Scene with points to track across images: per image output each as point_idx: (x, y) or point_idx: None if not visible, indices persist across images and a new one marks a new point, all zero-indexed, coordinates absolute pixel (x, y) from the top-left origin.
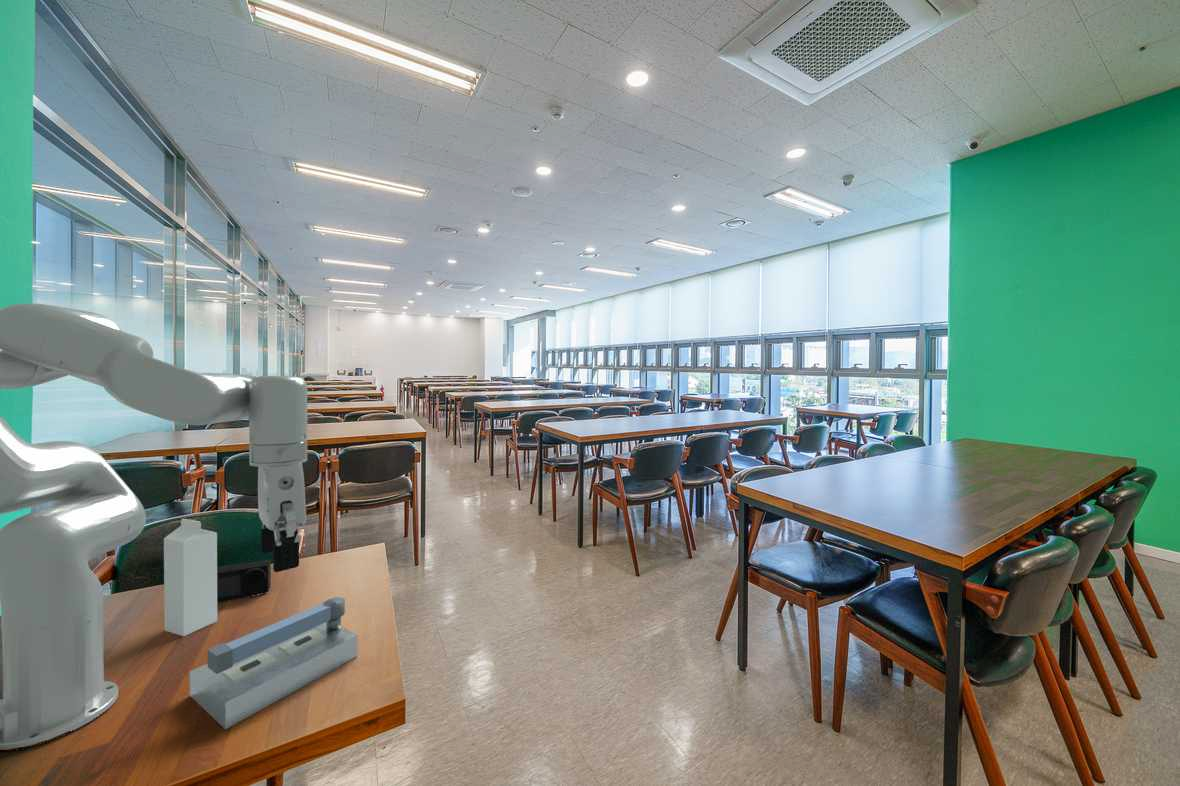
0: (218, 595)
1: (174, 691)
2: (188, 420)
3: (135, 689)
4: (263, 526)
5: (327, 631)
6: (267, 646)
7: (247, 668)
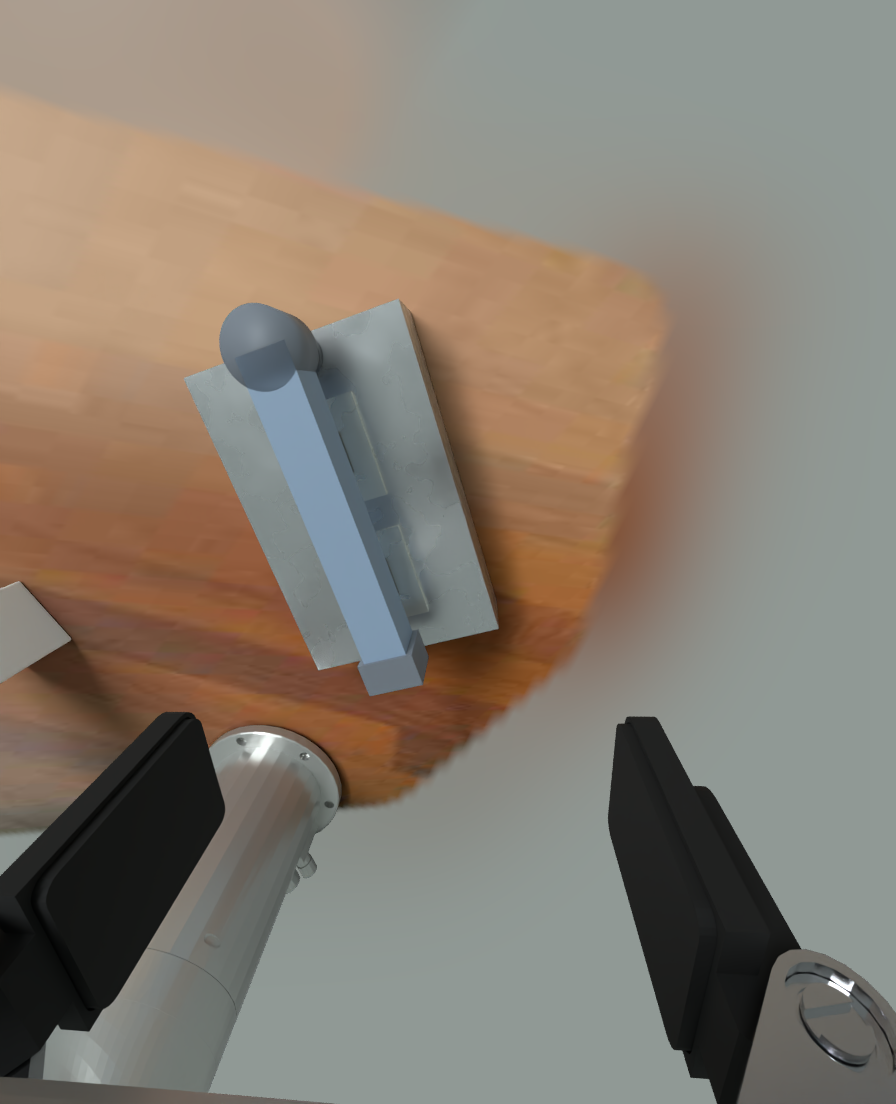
0: None
1: (301, 658)
2: None
3: (253, 704)
4: (41, 1057)
5: None
6: (384, 560)
7: (396, 585)
